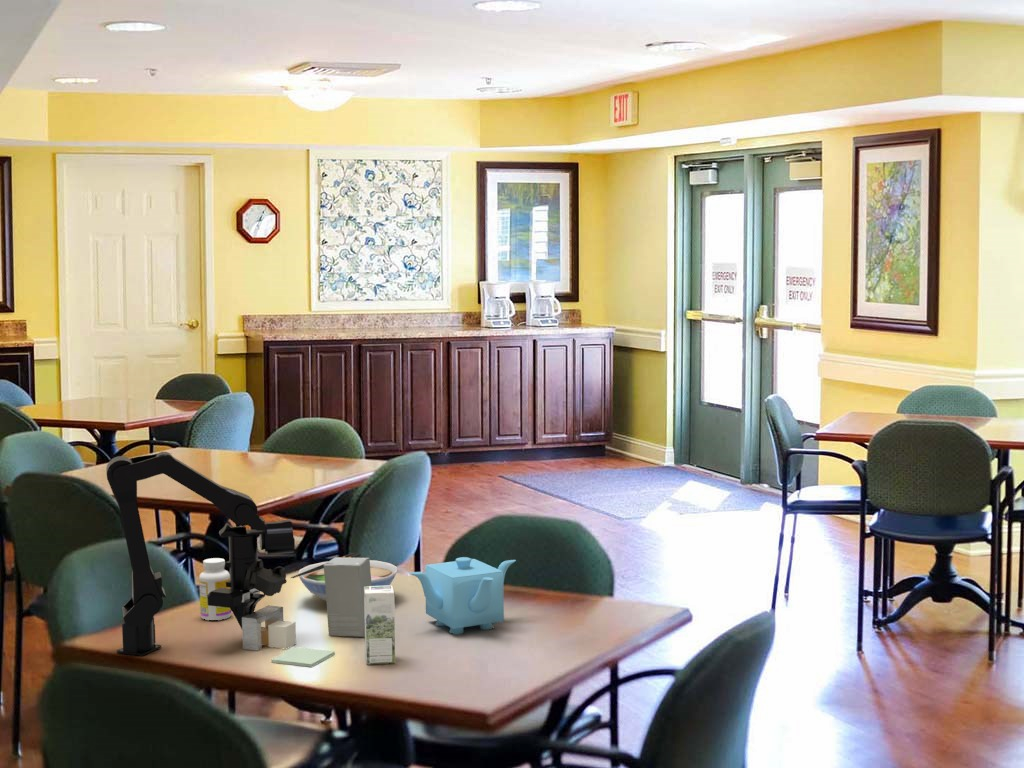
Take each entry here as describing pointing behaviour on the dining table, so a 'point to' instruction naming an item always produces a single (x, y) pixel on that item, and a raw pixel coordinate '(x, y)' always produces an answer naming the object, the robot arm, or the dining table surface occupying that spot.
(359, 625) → the skincare box
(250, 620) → the grey bridge block
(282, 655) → the pad
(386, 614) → the syrup box
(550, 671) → the dining table surface
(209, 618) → the supplement bottle
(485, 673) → the dining table surface
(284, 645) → the plug
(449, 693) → the dining table surface
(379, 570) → the ramen bowl
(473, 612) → the teakettle
